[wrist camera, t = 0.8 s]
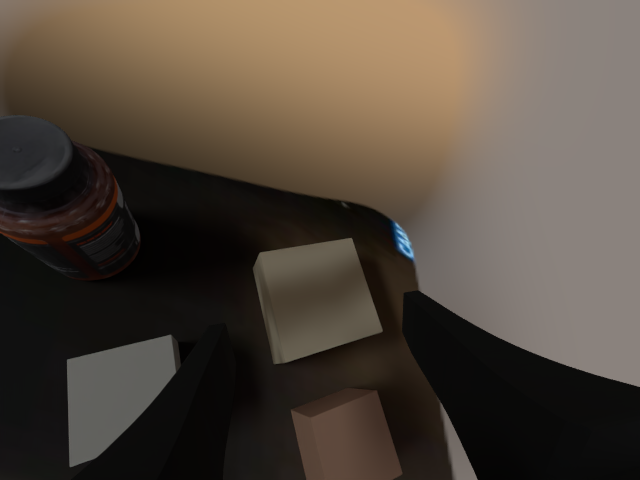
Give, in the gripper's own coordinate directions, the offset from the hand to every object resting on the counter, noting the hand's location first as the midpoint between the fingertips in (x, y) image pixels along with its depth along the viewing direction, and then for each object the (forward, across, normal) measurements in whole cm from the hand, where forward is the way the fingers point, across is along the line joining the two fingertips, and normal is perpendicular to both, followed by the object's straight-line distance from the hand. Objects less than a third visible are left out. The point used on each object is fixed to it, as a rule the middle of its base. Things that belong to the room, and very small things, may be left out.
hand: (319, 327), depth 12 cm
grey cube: (+7, +12, +9) cm, 16 cm away
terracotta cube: (+5, 0, +15) cm, 16 cm away
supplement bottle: (+14, +15, +1) cm, 20 cm away
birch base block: (+12, 0, +8) cm, 15 cm away
